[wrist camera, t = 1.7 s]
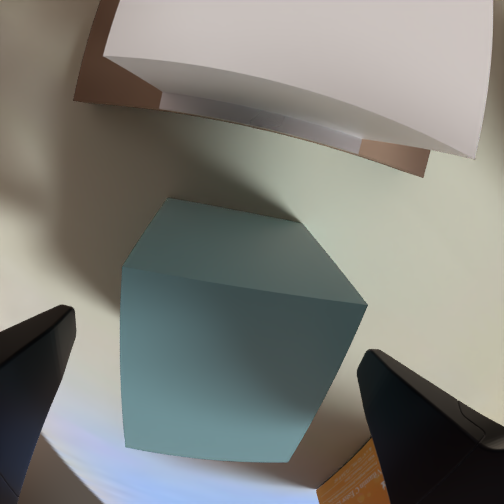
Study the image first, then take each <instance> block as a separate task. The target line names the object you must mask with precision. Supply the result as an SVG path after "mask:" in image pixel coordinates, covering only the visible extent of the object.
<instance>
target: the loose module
mask: <svg viewBox="0 0 504 504" xmlns="http://www.w3.org/2000/svg"><path fill="white" fill-rule="evenodd" d="M367 306H368V305H367V303H366V302H365V301H364V299H363V298H362V297H361V295H360V294H359V293H358V292H357V290H356V289H355V288H354V286H353V285H352V284H351V283H350V281H349V280H348V279H347V278H346V276H345V275H344V274H343V273H342V271H341V270H340V269H339V268H338V266H337V265H336V264H335V263H334V261H333V260H332V259H331V258H330V256H329V255H328V254H327V253H326V251H325V250H324V249H323V248H322V247H321V245H320V244H319V243H318V242H317V240H316V239H315V238H314V237H313V236H312V234H311V233H310V232H309V231H308V230H307V228H306V227H305V226H304V225H303V224H302V223H298V222H293V221H289V220H284V219H279V218H274V217H269V216H264V215H259V214H254V213H249V212H243V211H238V210H233V209H228V208H222V207H217V206H212V205H206V204H201V203H195V202H189V201H184V200H178V199H172V198H167V199H166V201H165V202H164V204H163V205H162V207H161V208H160V209H159V211H158V212H157V214H156V215H155V217H154V218H153V220H152V221H151V223H150V224H149V226H148V227H147V229H146V230H145V232H144V233H143V235H142V236H141V238H140V239H139V241H138V242H137V244H136V245H135V247H134V249H133V250H132V252H131V253H130V255H129V256H128V258H127V260H126V261H125V263H124V264H123V266H122V280H121V303H120V375H121V398H122V414H123V426H124V438H125V447H127V448H132V449H137V450H142V451H148V452H154V453H160V454H166V455H173V456H181V457H189V458H198V459H208V460H220V461H237V462H288V461H289V460H290V458H291V456H292V455H293V453H294V451H295V450H296V448H297V446H298V445H299V443H300V441H301V439H302V438H303V436H304V434H305V433H306V431H307V429H308V427H309V425H310V424H311V422H312V420H313V418H314V416H315V415H316V413H317V411H318V409H319V407H320V405H321V404H322V402H323V400H324V398H325V396H326V394H327V392H328V390H329V388H330V386H331V384H332V382H333V380H334V378H335V376H336V374H337V372H338V370H339V368H340V366H341V364H342V362H343V360H344V358H345V356H346V353H347V351H348V349H349V347H350V345H351V343H352V340H353V338H354V336H355V334H356V331H357V329H358V327H359V325H360V322H361V320H362V318H363V315H364V313H365V311H366V308H367Z"/></svg>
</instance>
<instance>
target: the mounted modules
mask: <svg viewBox="0 0 504 504" xmlns="http://www.w3.org/2000/svg"><path fill="white" fill-rule="evenodd" d="M492 38H493V0H120V2H119V5H118V8H117V11H116V14H115V17H114V20H113V23H112V26H111V29H110V33H109V36H108V39H107V43H106V47H105V50H104V54H103V56H104V57H106V58H107V59H109V60H111V61H113V62H114V63H116V64H118V65H120V66H121V67H123V68H125V69H126V70H128V71H130V72H131V73H133V74H135V75H136V76H138V77H140V78H141V79H143V80H144V81H146V82H148V83H149V84H151V85H153V86H154V87H156V88H157V89H159V90H160V91H162V92H167V93H174V94H181V95H188V96H194V97H200V98H205V99H211V100H216V101H222V102H227V103H232V104H237V105H241V106H246V107H251V108H255V109H259V110H264V111H268V112H272V113H276V114H280V115H284V116H288V117H292V118H295V119H299V120H303V121H306V122H310V123H313V124H317V125H320V126H323V127H327V128H330V129H333V130H337V131H340V132H343V133H346V134H349V135H352V136H355V137H358V138H361V139H367V140H374V141H381V142H388V143H394V144H400V145H406V146H412V147H418V148H423V149H428V150H434V151H439V152H443V153H448V154H453V155H457V156H462V157H466V158H470V159H475V156H476V152H477V148H478V143H479V138H480V133H481V128H482V123H483V117H484V112H485V105H486V99H487V92H488V84H489V75H490V66H491V54H492Z"/></svg>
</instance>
